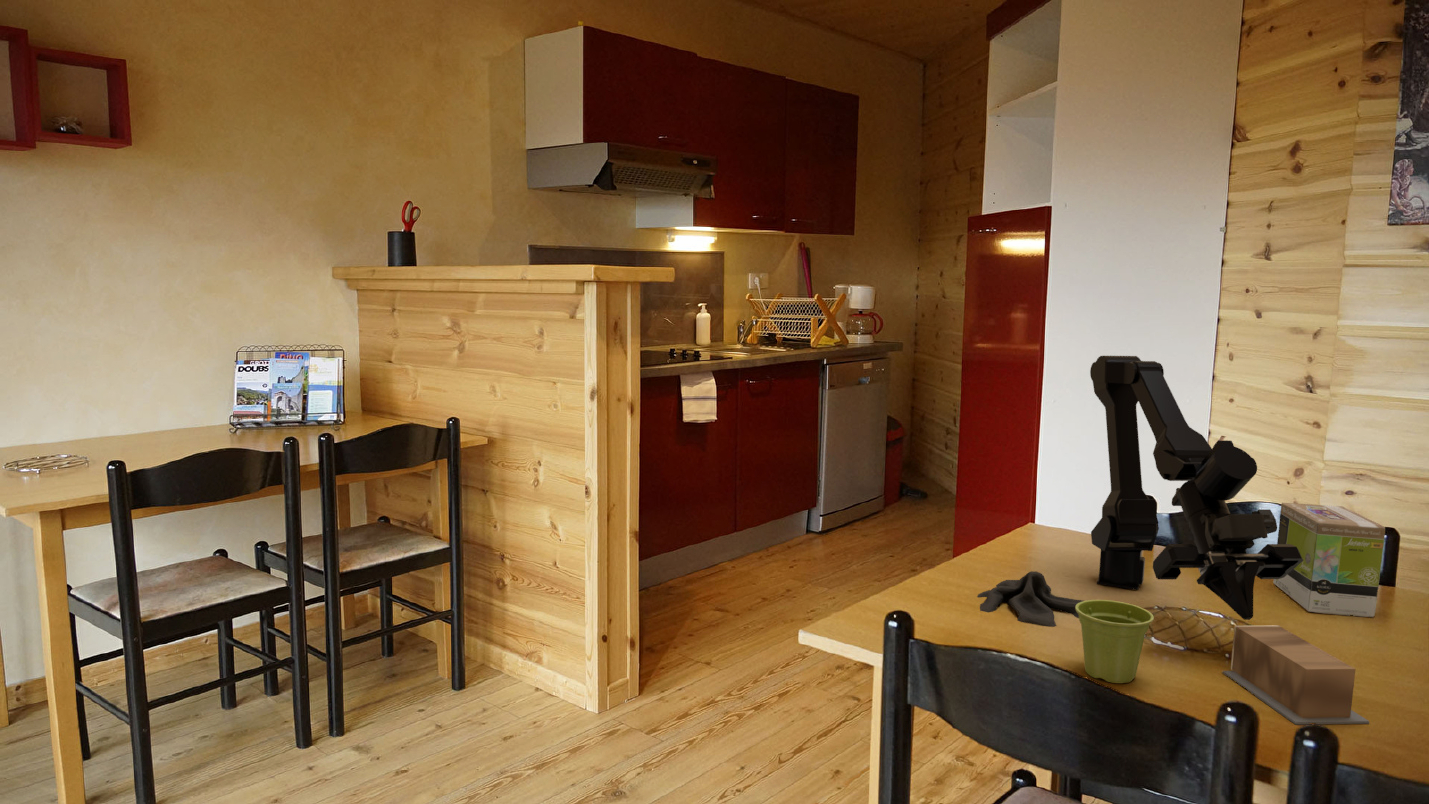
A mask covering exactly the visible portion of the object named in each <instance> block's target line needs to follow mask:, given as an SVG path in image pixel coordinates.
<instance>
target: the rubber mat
mask: <svg viewBox="0 0 1429 804" xmlns="http://www.w3.org/2000/svg"><path fill="white" fill-rule="evenodd" d="M1222 674H1224V676H1226V677H1227V676H1228V678H1229V677H1230V678H1231V680H1232V679H1233V680H1234V681H1236V682H1237V683H1238V684H1237V683H1236V682H1235V683H1236V684H1237V685H1239V686H1240V685H1241V686H1240V687H1242V686H1243V687H1245V688H1246V689H1247V690H1248V691H1247V690H1246V689H1245V690H1246V691H1247V692H1249V691H1250V692H1251V693H1250V692H1249V693H1250V694H1252V695H1253V694H1254V695H1255V697H1256V698H1257V699H1258V700H1260V701H1262V702H1263V703H1264V704H1266V705H1267V706H1269V707H1270V708H1271V709H1272V710H1274V711H1276V712H1277V713H1279V714H1280V715H1281V716H1283V717H1284V718H1285V719H1287V720H1288V721H1289V722H1291V723H1293V724H1294V725H1299V726H1301V725H1311V724H1310V723H1316V724H1315V725H1354V724H1355V725H1356V724H1357V725H1359V724H1361V725H1362V724H1363V725H1365V724H1370V720H1368V719H1366V718H1365V717H1363V716H1362V715H1360V714H1359V713H1357V712H1355V711H1354V710H1352V709H1351V715H1350V717H1315V718H1301V717H1300V716H1299V715H1297V714H1296V713H1294V712H1293V711H1291V710H1290V709H1288V708H1287V707H1285V706H1284V705H1283V704H1281V703H1280V702H1278V701H1277V700H1275V699H1274V698H1272V697H1271V696H1269V695H1268V694H1267V693H1265V692H1264V691H1262V690H1261V689H1259V688H1258V687H1256V686H1255V685H1253V684H1252V683H1251V682H1249V681H1248V680H1246V679H1245V678H1243V677H1242V676H1240V675H1239V674H1237V673H1236V672H1235V671H1233V670H1222ZM1230 678H1229V679H1230ZM1233 680H1232V681H1233ZM1234 681H1233V682H1234ZM1243 687H1242V688H1243ZM1254 695H1253V696H1254Z"/></svg>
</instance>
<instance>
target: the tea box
mask: <svg viewBox="0 0 1429 804" xmlns="http://www.w3.org/2000/svg"><path fill="white" fill-rule="evenodd" d="M1280 506H1281V507H1280V513H1279V523H1278V531H1277V532H1278V533H1277V543H1276V544H1291V545H1294V546H1296V547H1297V548H1298V550H1299V552H1300V554H1301V556H1302V558H1303V561H1302V562H1301V563H1300V564H1299V565H1298V566H1297V567H1295V568H1294V569H1293V570H1292V571H1291V572H1290V573H1288V574H1287V575H1286V576H1285V577H1283V578H1280V579H1272V580H1273V582H1272V583H1273V584H1274V586H1277V587H1278V589H1280V590H1282V591H1283V592H1284V593H1285V594H1286V595H1287V596H1289V597H1290V598H1291V599H1292V600H1294V601H1295V602H1297V603H1298V604H1299V605H1300V606H1301V607H1302V608H1304V609H1305V610H1306V611H1307V612H1310V613H1319V614H1325V615H1326V614H1329V615H1340V616H1350V615H1353V617H1363V618H1364V617H1367V618H1374V616H1375V614H1376V610H1377V609H1376V608H1377V601H1378V592H1379V591H1378V590H1379V583H1380V577H1381V570H1382V569H1381V567H1382V561H1383V560H1382V559H1383V552H1384V546H1385V545H1384V544H1385V535H1386V527H1385V526H1383V525H1382V524H1381V523H1377V522H1375V521H1374V520H1372V519H1370V518H1367V517H1365V516H1363V515H1361V514H1359V513H1357V512H1354V511H1352V510H1350V509H1348V508H1346V507H1345V506H1341V505H1340V506H1339V505H1326V504H1310V503H1309V504H1308V503H1297V502H1296V503H1295V502H1281V505H1280Z"/></svg>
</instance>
